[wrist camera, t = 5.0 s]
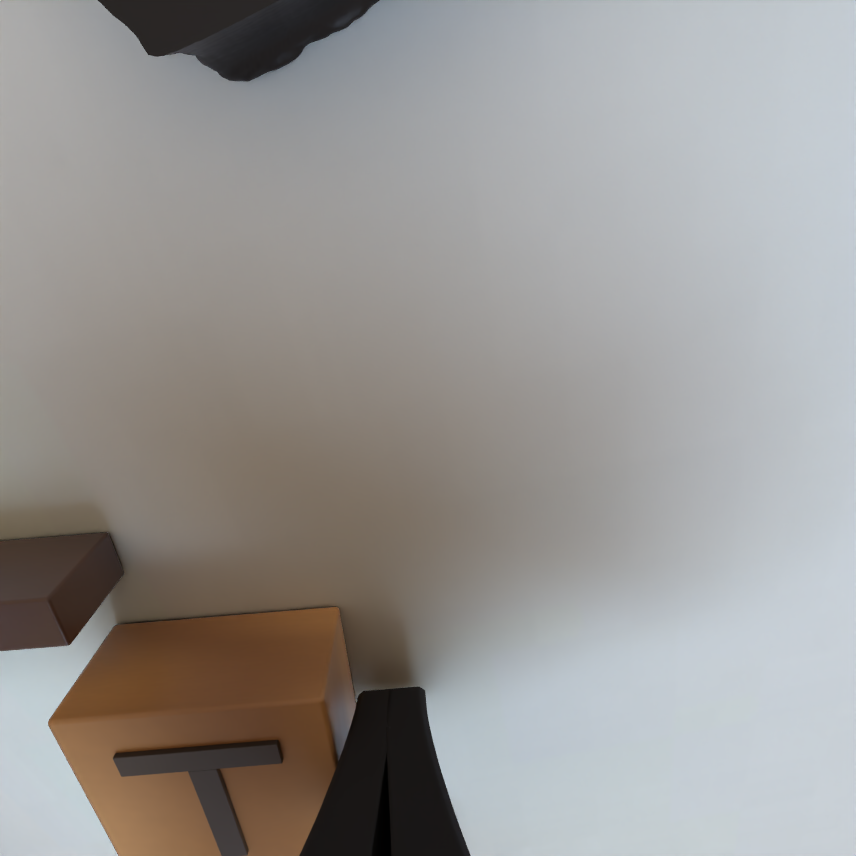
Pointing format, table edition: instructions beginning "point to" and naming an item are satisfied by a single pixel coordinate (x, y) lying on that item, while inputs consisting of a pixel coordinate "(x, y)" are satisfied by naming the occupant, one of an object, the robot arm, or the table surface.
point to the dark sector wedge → (235, 29)
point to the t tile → (211, 731)
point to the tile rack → (53, 587)
